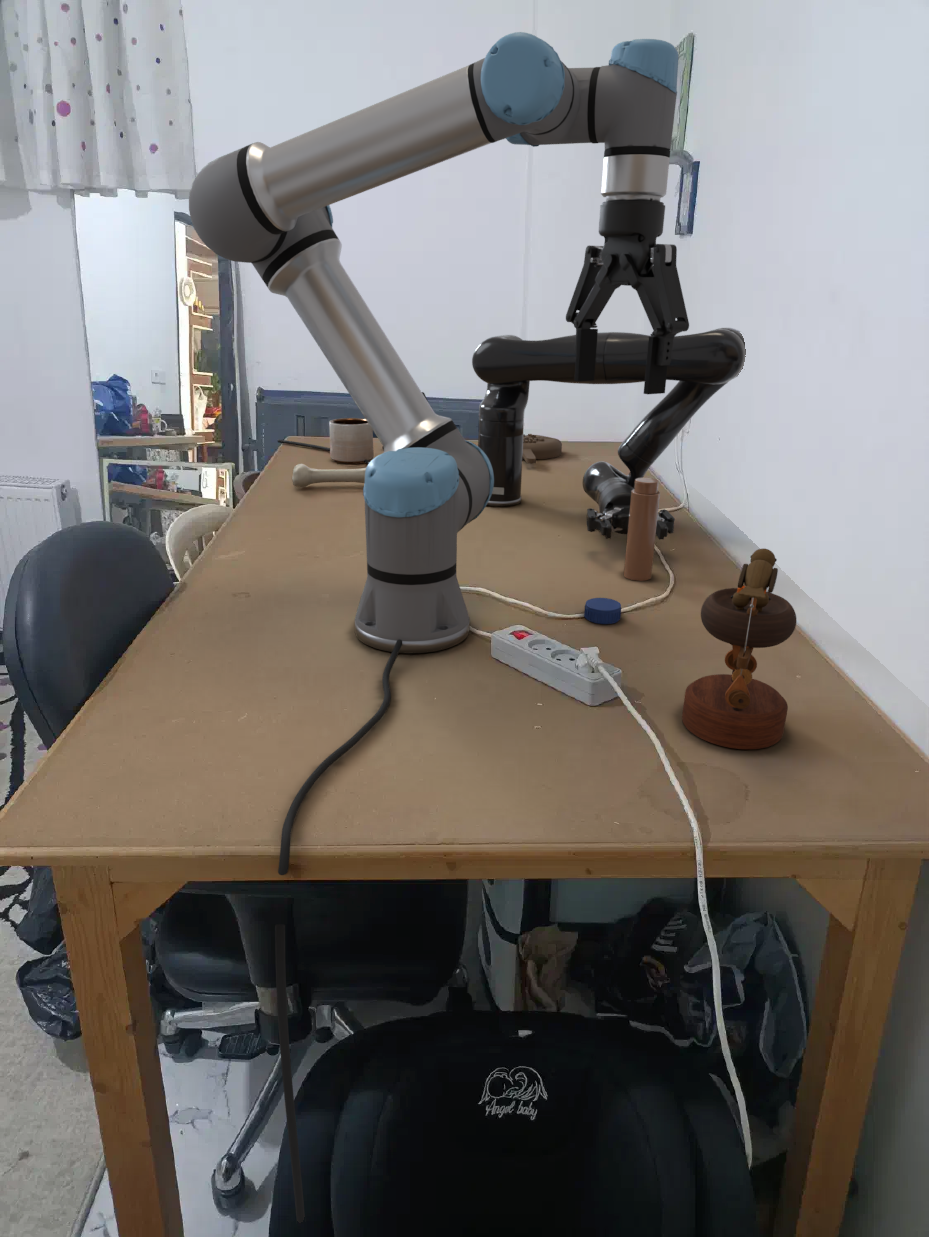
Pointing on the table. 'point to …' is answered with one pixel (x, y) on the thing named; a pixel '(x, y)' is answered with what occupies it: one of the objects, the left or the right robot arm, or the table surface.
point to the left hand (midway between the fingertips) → (617, 387)
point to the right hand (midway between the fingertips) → (635, 533)
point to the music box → (742, 662)
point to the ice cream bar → (540, 447)
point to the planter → (351, 440)
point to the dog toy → (325, 475)
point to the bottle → (642, 529)
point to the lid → (602, 610)
